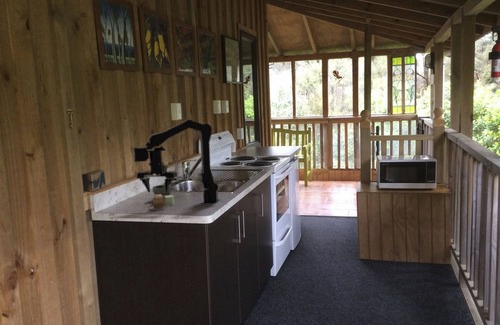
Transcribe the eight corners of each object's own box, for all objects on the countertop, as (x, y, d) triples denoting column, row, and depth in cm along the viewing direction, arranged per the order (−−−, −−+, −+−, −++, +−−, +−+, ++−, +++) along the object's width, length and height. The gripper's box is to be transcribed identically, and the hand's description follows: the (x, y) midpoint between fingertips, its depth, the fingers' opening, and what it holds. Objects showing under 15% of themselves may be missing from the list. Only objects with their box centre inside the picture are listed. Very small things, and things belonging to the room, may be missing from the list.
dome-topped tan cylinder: (162, 202, 231) (161, 193, 230) (163, 203, 227) (161, 195, 227) (154, 203, 230) (153, 195, 229) (155, 205, 226) (153, 196, 226)
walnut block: (162, 207, 217) (161, 197, 216) (153, 207, 218) (152, 197, 217) (165, 205, 221) (165, 195, 221) (157, 205, 222) (156, 195, 222)
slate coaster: (170, 206, 223) (170, 204, 223) (164, 209, 215) (164, 208, 215) (155, 206, 224) (155, 204, 224) (148, 209, 217) (148, 208, 217)
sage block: (174, 202, 231) (173, 195, 230) (173, 204, 226) (172, 197, 225) (164, 203, 230) (163, 195, 230) (163, 205, 226) (162, 197, 225)
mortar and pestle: (149, 200, 239) (148, 178, 237) (161, 196, 247) (160, 175, 245) (166, 201, 233) (164, 179, 231) (177, 198, 241) (176, 176, 239)
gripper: (180, 158, 222) (182, 189, 224) (145, 158, 226) (147, 189, 228) (171, 161, 212) (173, 193, 214) (135, 161, 215) (137, 193, 217)
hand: (158, 192), depth 219 cm, fingers open, 9 cm apart
